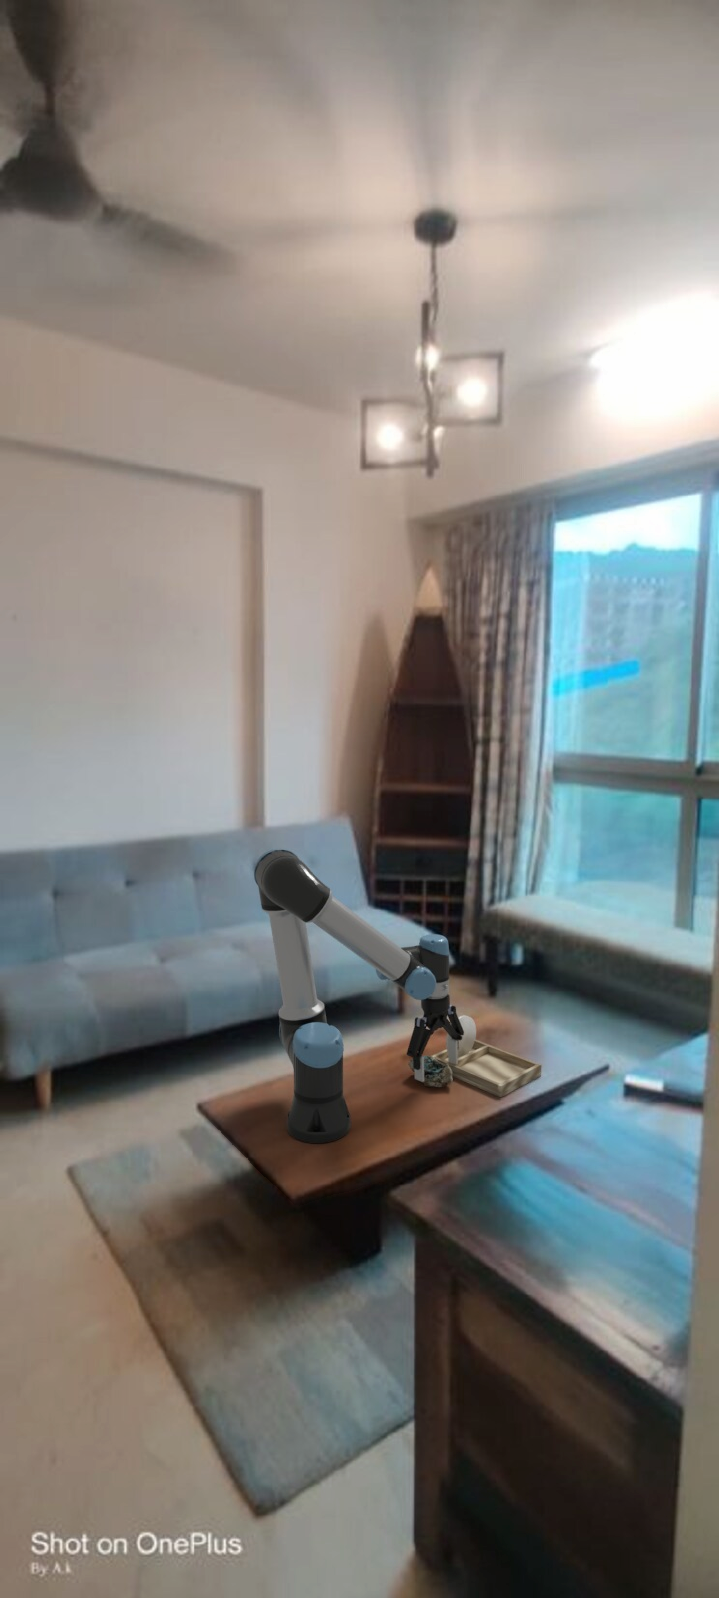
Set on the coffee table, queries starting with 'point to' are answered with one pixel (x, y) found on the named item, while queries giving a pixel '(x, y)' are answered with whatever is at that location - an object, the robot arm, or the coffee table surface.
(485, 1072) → the wooden tray
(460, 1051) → the standing plate
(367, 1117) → the coffee table surface
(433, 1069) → the mineral specimen
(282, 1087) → the coffee table surface
